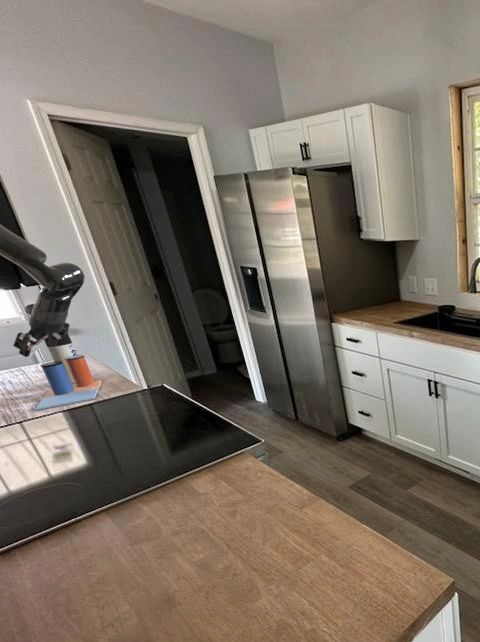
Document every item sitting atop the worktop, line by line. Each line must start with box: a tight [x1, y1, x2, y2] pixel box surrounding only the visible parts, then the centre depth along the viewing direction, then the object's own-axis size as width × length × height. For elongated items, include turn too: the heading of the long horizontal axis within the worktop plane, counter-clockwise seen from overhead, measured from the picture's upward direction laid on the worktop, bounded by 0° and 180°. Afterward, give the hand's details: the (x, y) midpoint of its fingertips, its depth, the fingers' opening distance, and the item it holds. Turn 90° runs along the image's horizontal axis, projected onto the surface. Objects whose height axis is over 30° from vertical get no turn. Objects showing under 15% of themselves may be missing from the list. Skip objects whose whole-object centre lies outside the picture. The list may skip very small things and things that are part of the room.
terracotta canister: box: [64, 354, 95, 387], centre depth 152 cm, size 5×5×11 cm
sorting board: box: [34, 380, 103, 412], centre depth 146 cm, size 14×24×1 cm, turn 39°
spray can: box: [43, 330, 78, 385], centre depth 156 cm, size 7×7×20 cm
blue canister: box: [40, 361, 74, 395], centre depth 145 cm, size 5×5×11 cm
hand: (38, 350), depth 138 cm, fingers open, 8 cm apart
